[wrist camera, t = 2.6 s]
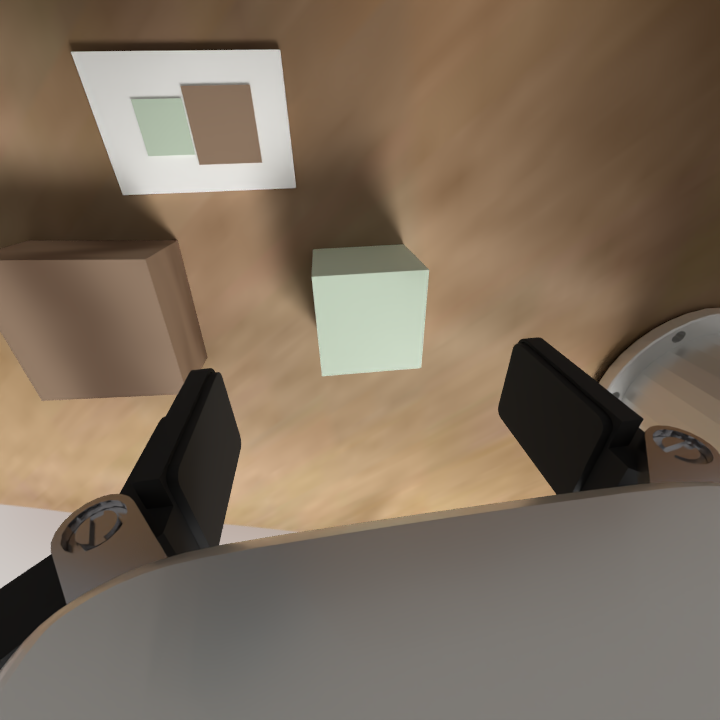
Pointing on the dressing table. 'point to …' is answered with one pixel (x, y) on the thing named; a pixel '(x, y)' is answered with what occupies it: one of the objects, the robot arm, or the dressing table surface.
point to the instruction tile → (191, 118)
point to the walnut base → (100, 317)
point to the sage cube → (369, 308)
